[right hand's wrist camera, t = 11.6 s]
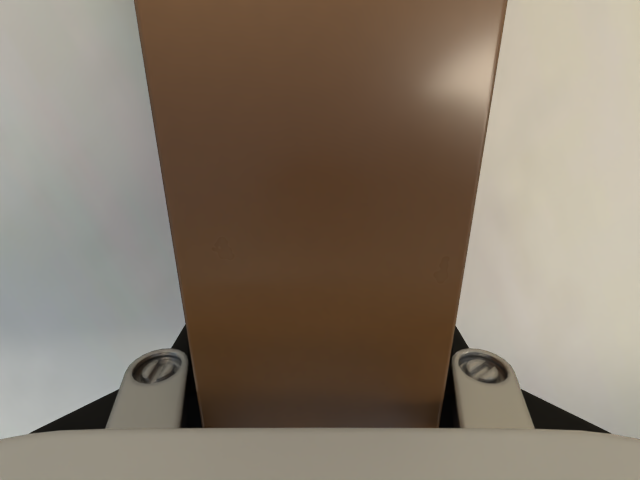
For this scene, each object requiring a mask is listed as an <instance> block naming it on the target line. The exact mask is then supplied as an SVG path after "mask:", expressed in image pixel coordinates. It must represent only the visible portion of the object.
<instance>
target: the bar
mask: <svg viewBox="0 0 640 480" xmlns="http://www.w3.org/2000/svg"><path fill="white" fill-rule="evenodd" d="M507 1H508V0H134V4H135V10H136V16H137V22H138V29H139V35H140V41H141V47H142V54H143V60H144V66H145V72H146V79H147V85H148V91H149V97H150V104H151V110H152V116H153V122H154V129H155V135H156V141H157V148H158V154H159V160H160V166H161V173H162V179H163V185H164V191H165V198H166V204H167V210H168V216H169V223H170V229H171V235H172V241H173V248H174V254H175V260H176V266H177V273H178V279H179V285H180V291H181V298H182V304H183V310H184V316H185V323H186V329H187V335H188V341H189V348H190V354H191V360H192V366H193V373H194V379H195V385H196V391H197V398H198V404H199V410H200V416H201V423H202V428H439V423H440V417H441V411H442V405H443V399H444V392H445V386H446V380H447V374H448V367H449V361H450V355H451V349H452V343H453V336H454V330H455V324H456V318H457V312H458V305H459V299H460V293H461V287H462V280H463V274H464V268H465V262H466V256H467V249H468V243H469V237H470V231H471V225H472V218H473V212H474V206H475V200H476V193H477V187H478V181H479V175H480V169H481V162H482V156H483V150H484V144H485V138H486V131H487V125H488V119H489V113H490V106H491V100H492V94H493V88H494V82H495V75H496V69H497V63H498V57H499V51H500V44H501V38H502V32H503V26H504V19H505V13H506V7H507Z"/></svg>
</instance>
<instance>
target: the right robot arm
mask: <svg viewBox="0 0 640 480" xmlns="http://www.w3.org/2000/svg"><path fill="white" fill-rule="evenodd" d="M0 480H640V439H635V438H630V437H625V436H619V435H614V434H611V433H609V432H607V431H605V430H603V429H601V428H599V427H597V426H595V425H593V424H591V423H589V422H587V421H585V420H583V419H581V418H579V417H577V416H575V415H573V414H571V413H569V412H567V411H565V410H563V409H560V408H558V407H556V406H554V405H552V404H550V403H548V402H546V401H544V400H542V399H540V398H538V397H536V396H534V395H532V394H530V393H528V392H526V391H524V390H522V389H520V386H519V383H518V380H517V378H516V375H515V372H514V370H513V369H512V367H511V365H510V364H509V363H507V362H506V361H505V360H504V359H503V358H501V357H499V356H498V355H496V354H493V353H491V352H489V351H485V350H481V349H472V348H469V347H468V346H467V344H466V342H465V341H464V339H463V337H462V336H461V334H460V332H459V331H458V329H457V327H456V326H455V330H454V336H453V343H452V349H451V355H450V361H449V367H448V374H447V380H446V386H445V392H444V399H443V405H442V411H441V417H440V423H439V428H202V423H201V416H200V410H199V404H198V398H197V391H196V385H195V379H194V373H193V366H192V360H191V354H190V348H189V341H188V335H187V329H186V324H185V326H184V328H183V329H182V331H181V333H180V334H179V336H178V338H177V339H176V341H175V343H174V344H173V346H172V348H168V349H159V350H155V351H151V352H149V353H147V354H144V355H142V356H141V357H139V358H137V359H136V360H135V361H134V362H133V363H131V364H130V365H129V367H128V369H127V370H126V372H125V375H124V378H123V380H122V383H121V386H120V389H118V390H116V391H114V392H112V393H110V394H108V395H106V396H104V397H102V398H100V399H98V400H96V401H94V402H92V403H90V404H88V405H86V406H84V407H82V408H80V409H78V410H76V411H74V412H72V413H70V414H67V415H65V416H63V417H61V418H59V419H57V420H55V421H53V422H51V423H49V424H47V425H45V426H43V427H41V428H39V429H37V430H35V431H33V432H31V433H29V434H26V435H21V436H15V437H10V438H5V439H0Z"/></svg>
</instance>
